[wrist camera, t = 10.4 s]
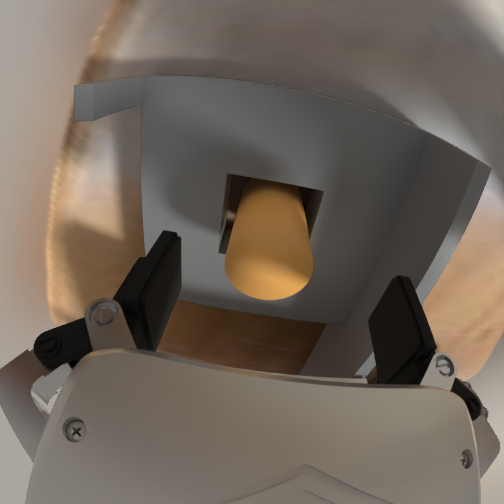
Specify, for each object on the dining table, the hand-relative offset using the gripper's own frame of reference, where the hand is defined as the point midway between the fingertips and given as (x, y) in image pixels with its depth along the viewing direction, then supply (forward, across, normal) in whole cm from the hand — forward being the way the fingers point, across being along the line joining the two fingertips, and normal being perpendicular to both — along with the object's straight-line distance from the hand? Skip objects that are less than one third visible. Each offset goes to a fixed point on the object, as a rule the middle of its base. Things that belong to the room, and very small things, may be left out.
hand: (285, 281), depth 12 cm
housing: (+8, +1, +8) cm, 11 cm away
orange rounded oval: (+8, +1, 0) cm, 8 cm away
